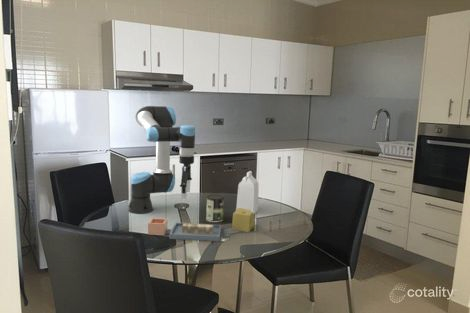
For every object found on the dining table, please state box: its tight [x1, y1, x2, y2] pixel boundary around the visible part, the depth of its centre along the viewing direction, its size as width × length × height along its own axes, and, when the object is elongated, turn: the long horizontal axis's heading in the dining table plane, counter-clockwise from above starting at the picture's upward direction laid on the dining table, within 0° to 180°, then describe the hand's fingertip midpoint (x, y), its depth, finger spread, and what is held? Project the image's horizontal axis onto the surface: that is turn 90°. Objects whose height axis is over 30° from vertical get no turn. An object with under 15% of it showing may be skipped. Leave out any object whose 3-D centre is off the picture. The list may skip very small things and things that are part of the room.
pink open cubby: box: [147, 217, 169, 236], centre depth 203 cm, size 9×9×6 cm
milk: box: [235, 170, 259, 215], centre depth 245 cm, size 12×12×26 cm
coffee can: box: [205, 194, 225, 223], centre depth 227 cm, size 10×10×14 cm
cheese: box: [231, 208, 256, 233], centre depth 214 cm, size 10×11×10 cm
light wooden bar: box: [182, 223, 213, 234], centre depth 203 cm, size 8×4×16 cm
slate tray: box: [168, 222, 222, 242], centre depth 203 cm, size 26×18×2 cm
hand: (185, 195), depth 200 cm, fingers open, 13 cm apart
